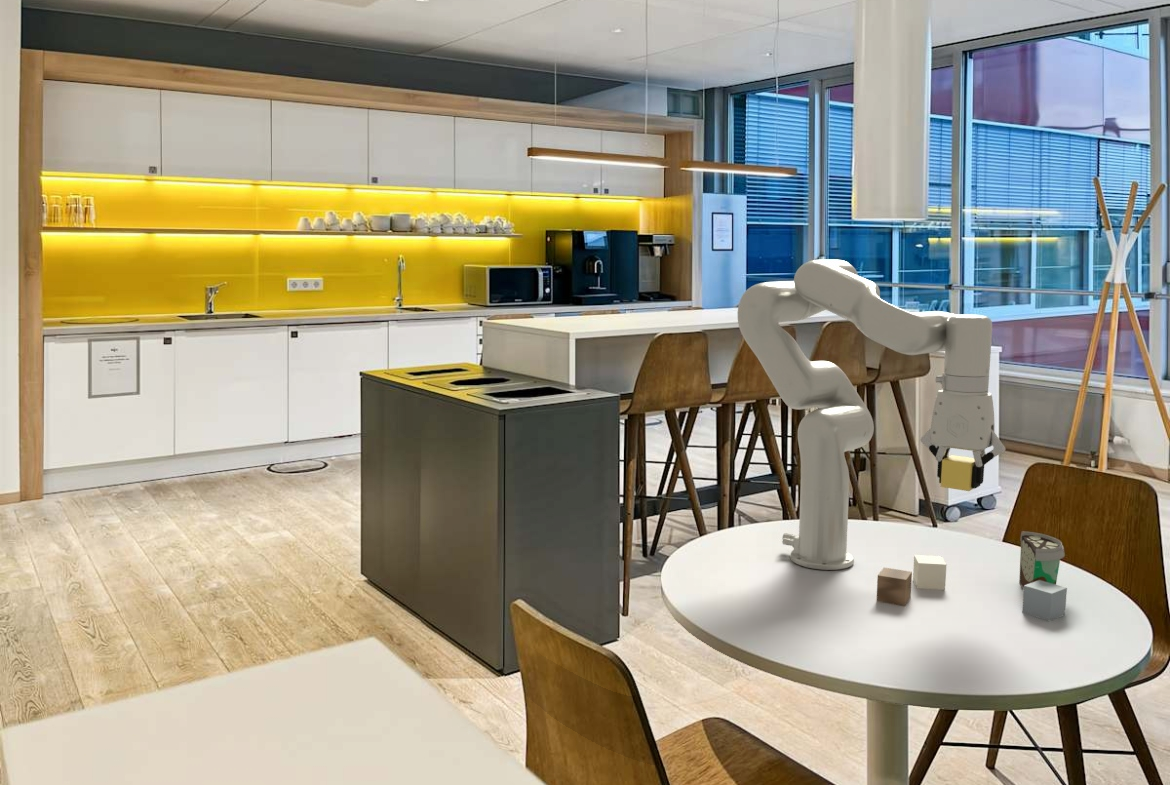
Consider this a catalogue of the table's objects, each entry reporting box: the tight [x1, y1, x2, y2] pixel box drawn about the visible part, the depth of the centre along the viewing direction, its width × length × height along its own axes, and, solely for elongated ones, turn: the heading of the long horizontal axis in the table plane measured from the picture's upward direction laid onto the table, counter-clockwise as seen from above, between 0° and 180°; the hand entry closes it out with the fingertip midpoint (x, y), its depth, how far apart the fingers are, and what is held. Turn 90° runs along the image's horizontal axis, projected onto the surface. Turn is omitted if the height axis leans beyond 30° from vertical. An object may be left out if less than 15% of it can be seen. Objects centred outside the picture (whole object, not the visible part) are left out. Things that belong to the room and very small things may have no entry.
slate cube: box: [1021, 580, 1068, 622], centre depth 172 cm, size 5×5×5 cm
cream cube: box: [912, 554, 947, 591], centre depth 187 cm, size 5×5×5 cm
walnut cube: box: [876, 567, 913, 607], centre depth 179 cm, size 5×5×5 cm
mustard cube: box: [940, 454, 975, 492], centre depth 177 cm, size 5×5×5 cm
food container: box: [1018, 531, 1066, 590], centre depth 182 cm, size 12×6×10 cm, turn 168°
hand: (959, 483), depth 177 cm, fingers closed on mustard cube, 5 cm apart
